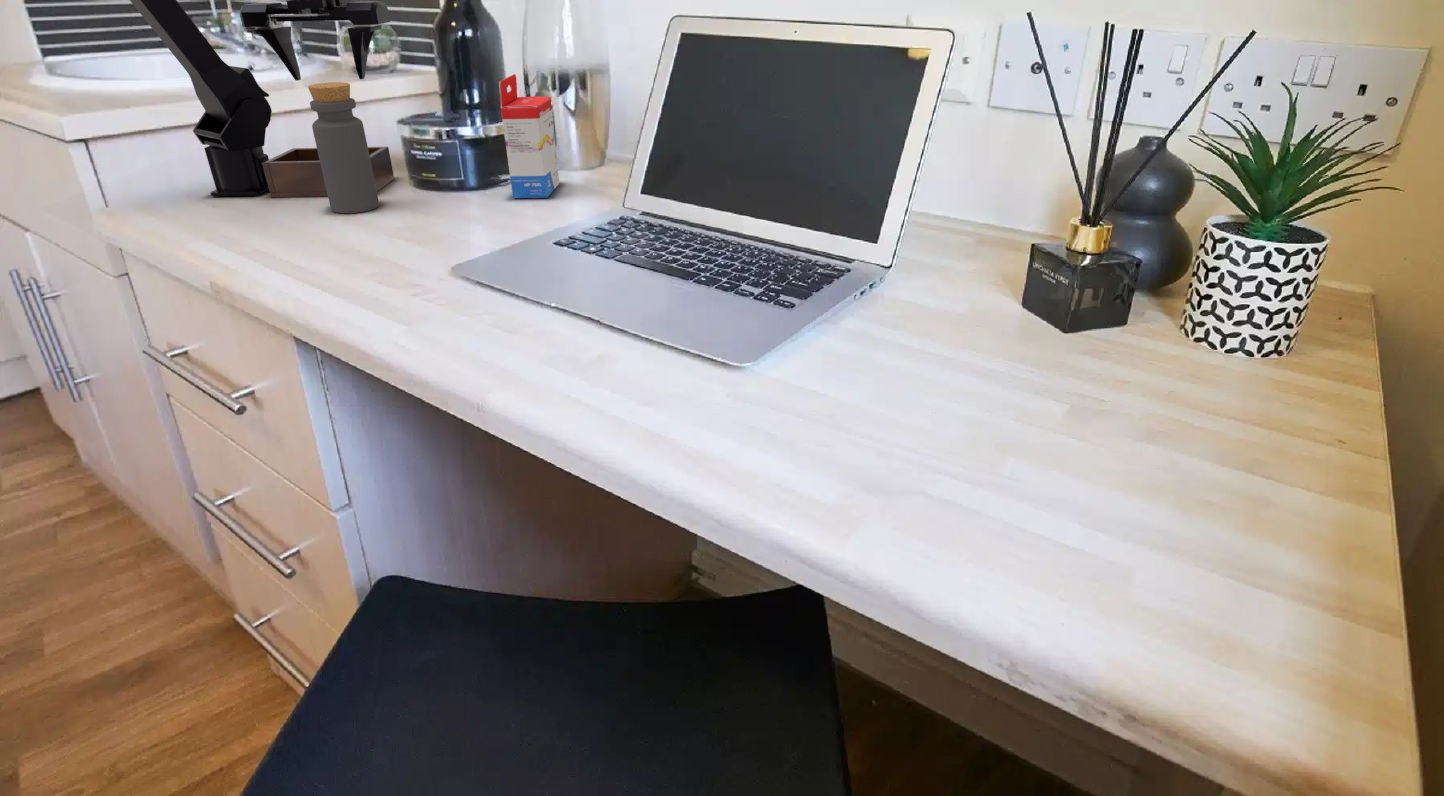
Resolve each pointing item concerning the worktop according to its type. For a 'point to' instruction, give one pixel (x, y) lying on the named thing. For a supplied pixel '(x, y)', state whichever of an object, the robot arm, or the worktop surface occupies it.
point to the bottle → (342, 149)
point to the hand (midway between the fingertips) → (330, 79)
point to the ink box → (529, 142)
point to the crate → (315, 172)
